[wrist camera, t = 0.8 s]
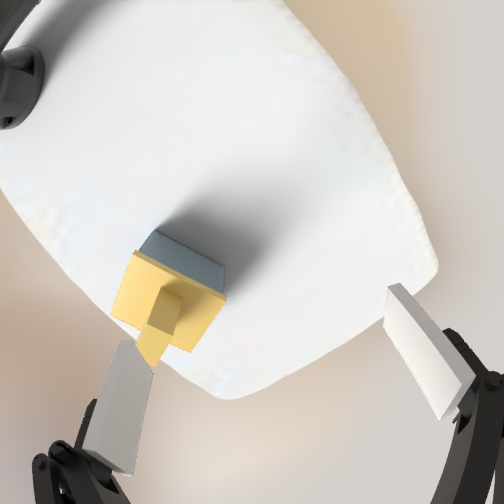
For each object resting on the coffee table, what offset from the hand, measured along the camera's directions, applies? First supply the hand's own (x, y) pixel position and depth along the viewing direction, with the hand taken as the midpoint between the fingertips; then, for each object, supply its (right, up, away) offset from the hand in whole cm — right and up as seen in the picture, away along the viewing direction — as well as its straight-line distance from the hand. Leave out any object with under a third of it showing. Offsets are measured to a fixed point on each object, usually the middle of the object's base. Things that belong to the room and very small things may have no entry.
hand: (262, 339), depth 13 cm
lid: (-12, -3, +21) cm, 24 cm away
